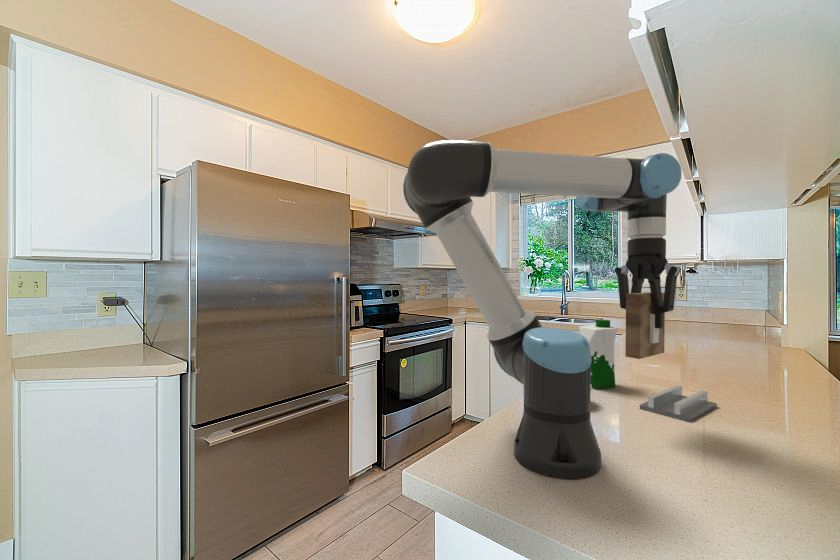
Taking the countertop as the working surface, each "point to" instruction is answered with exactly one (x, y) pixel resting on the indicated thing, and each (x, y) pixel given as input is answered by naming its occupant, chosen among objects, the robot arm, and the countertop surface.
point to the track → (679, 404)
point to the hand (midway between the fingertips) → (645, 341)
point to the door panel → (641, 327)
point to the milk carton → (601, 353)
